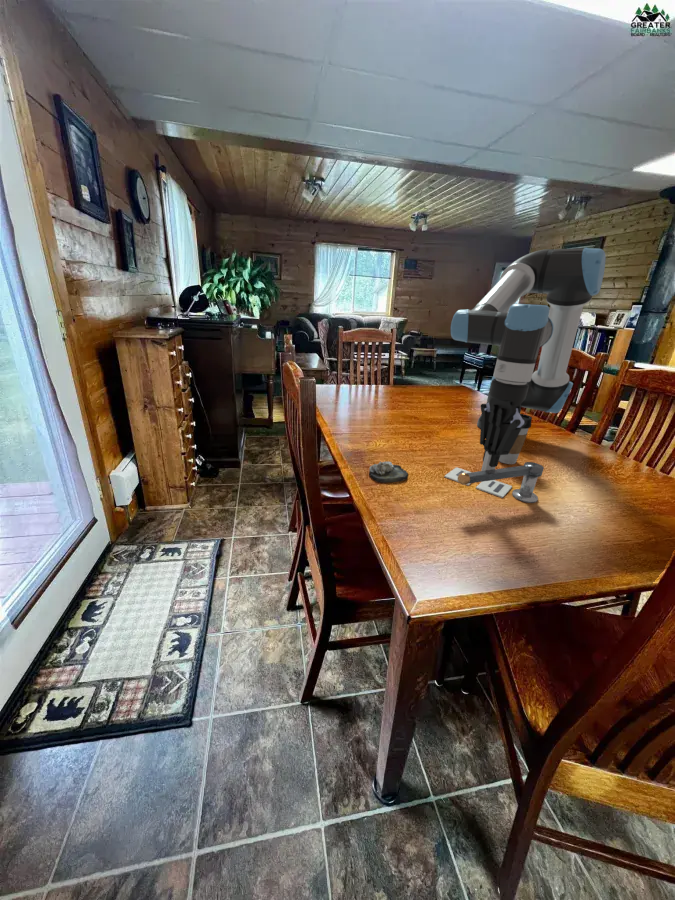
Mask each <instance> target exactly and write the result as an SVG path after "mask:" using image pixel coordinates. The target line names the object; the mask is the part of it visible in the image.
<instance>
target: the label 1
mask: <svg viewBox="0 0 675 900" xmlns="http://www.w3.org/2000/svg"><path fill="white" fill-rule="evenodd" d="M471 472H472V471H469V470H466V469H463V468H460V467H454V468H453V469H452V470H450V471H449V472H447V473H446V474H445V475H444V478H446V479H448V480H451V481H454V482H457V483H459V482H458V475H459V474H461V473H471ZM471 484H472V483H469V484H466V485H465V486H470V485H471Z"/></svg>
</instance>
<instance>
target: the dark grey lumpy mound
mask: <svg viewBox="0 0 675 900" xmlns="http://www.w3.org/2000/svg"><path fill="white" fill-rule="evenodd" d="M368 471H369V473H368V476H369V478H371V479H372V480H374V481H375V482H377V483H381V484H383V483H398V482H399V483H400V482H403V481H405V480H407V479H408V478H409V473H408V472H407V470H405V469H404V468H402V466H401V465H399V464H392V461H379V462H378V463H374V464H372V465H370V466H369V470H368Z"/></svg>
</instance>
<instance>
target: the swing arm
mask: <svg viewBox="0 0 675 900" xmlns="http://www.w3.org/2000/svg"><path fill="white" fill-rule="evenodd" d="M544 469H545V467H544V466H543V465H541V464H540V463H537V462H534V461H525V462H524V463H523V465H518V466H511V467H501V468H495V469H494V470H486V471H481V470H480V471H470V472H471V473H461V474H459V475H458V482H457V483H459V484H460V485H463V486H467V485H466V484H469V483H471V484H477V483H481V482H483V481H490V480H496V481H498V480H504V479H510V478H517V477H518V478H519V477H524V476H525V475H529V476H533V477H538V478H539V477H542V475H543V472H544Z"/></svg>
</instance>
